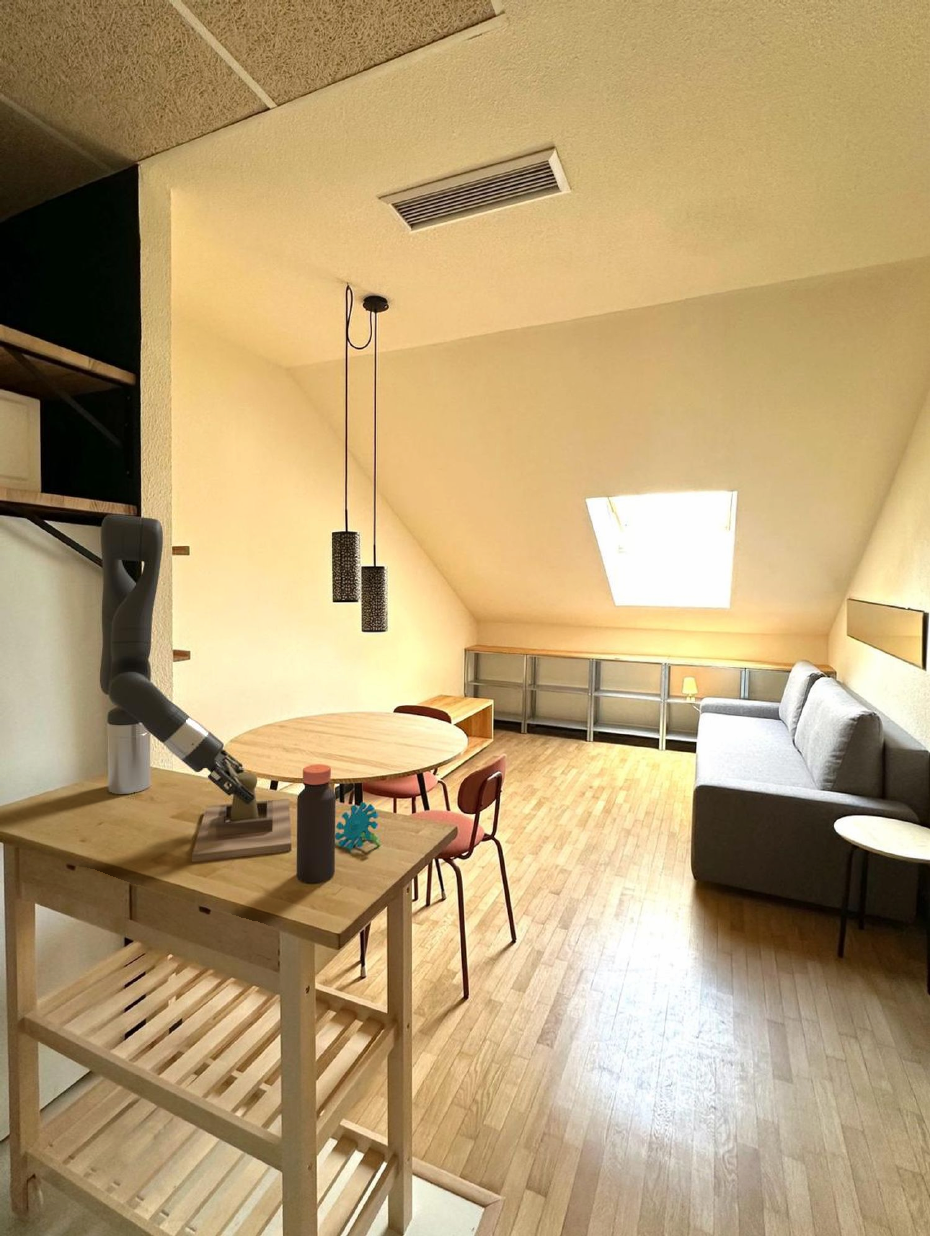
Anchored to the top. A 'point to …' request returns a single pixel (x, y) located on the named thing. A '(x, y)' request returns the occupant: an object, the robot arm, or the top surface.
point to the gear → (357, 827)
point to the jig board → (243, 832)
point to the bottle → (316, 826)
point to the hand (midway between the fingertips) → (252, 793)
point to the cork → (238, 806)
